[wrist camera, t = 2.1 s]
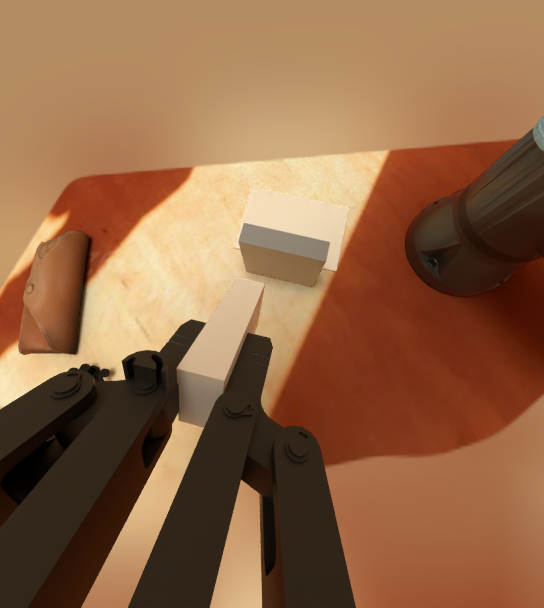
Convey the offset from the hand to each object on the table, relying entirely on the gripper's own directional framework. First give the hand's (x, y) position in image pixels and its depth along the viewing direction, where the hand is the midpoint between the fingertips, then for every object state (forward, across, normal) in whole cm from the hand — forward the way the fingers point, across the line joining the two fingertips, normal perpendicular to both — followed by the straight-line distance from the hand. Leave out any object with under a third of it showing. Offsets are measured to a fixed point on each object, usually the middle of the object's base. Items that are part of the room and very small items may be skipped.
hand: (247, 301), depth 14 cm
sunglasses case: (+16, -31, -17) cm, 39 cm away
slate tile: (+23, 0, -9) cm, 25 cm away
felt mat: (+28, 0, -3) cm, 29 cm away
